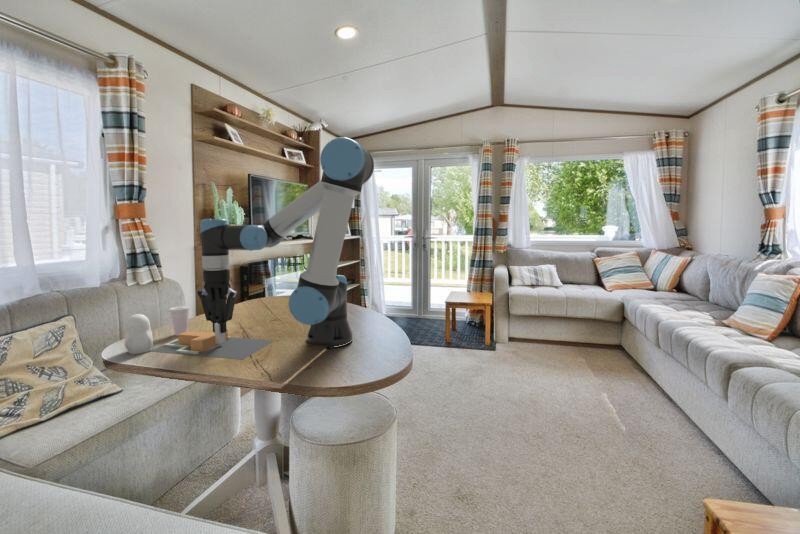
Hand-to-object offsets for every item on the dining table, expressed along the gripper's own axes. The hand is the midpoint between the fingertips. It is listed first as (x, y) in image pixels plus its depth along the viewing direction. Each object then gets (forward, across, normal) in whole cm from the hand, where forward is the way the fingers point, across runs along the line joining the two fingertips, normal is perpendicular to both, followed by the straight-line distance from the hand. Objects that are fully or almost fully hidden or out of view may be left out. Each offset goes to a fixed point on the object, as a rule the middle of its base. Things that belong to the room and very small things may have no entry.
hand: (220, 342), depth 121 cm
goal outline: (+1, +10, 0) cm, 10 cm away
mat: (+2, +2, 0) cm, 3 cm away
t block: (+1, +8, 0) cm, 8 cm away
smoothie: (+2, +24, -11) cm, 27 cm away
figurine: (+2, +23, +7) cm, 24 cm away
